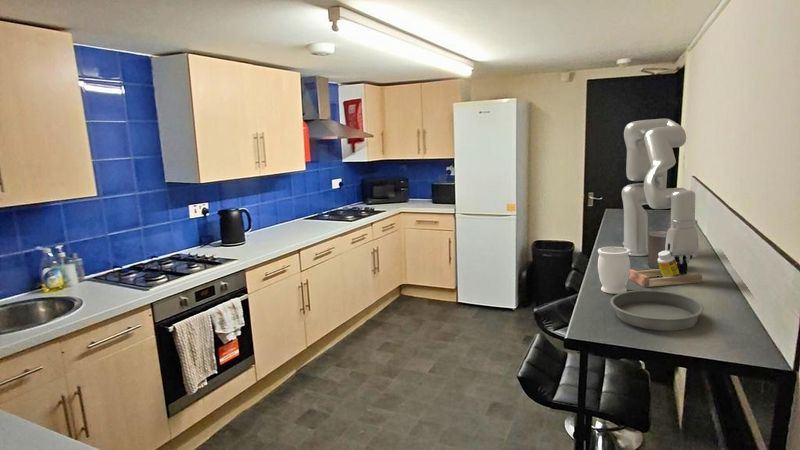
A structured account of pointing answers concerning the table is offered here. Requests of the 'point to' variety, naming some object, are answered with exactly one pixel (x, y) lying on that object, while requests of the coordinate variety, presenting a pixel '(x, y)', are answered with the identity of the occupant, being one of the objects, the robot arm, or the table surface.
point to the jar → (613, 269)
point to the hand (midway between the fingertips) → (681, 273)
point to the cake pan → (657, 309)
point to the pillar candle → (656, 247)
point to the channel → (644, 280)
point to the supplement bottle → (667, 264)
